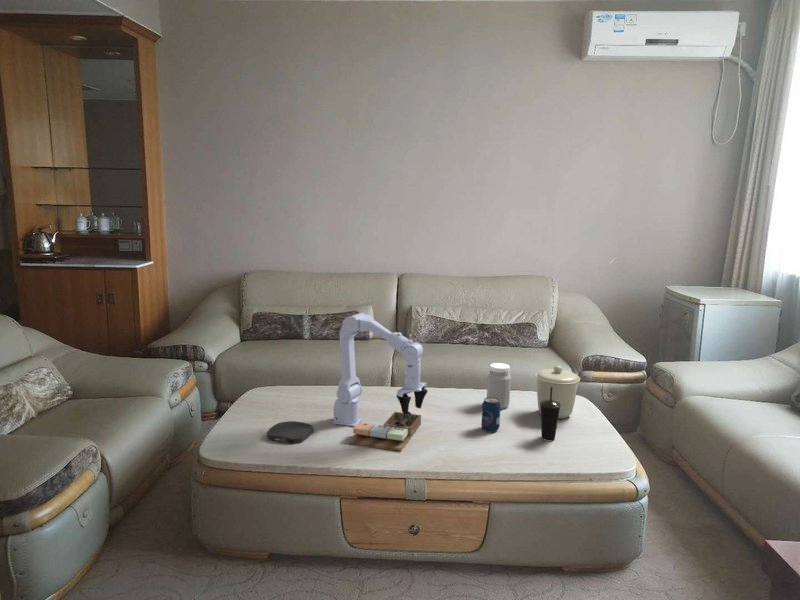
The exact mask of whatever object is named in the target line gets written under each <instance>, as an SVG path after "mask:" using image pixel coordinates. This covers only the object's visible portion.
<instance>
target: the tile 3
mask: <svg viewBox="0 0 800 600" xmlns="http://www.w3.org/2000/svg"><path fill="white" fill-rule="evenodd" d="M407 434H408V429H403V428H396V427H392V428H391V429H390V430H389V431H388V432H387V438H388V439H394V440H401V441H403V440H404V438H405V437H406V436H407Z"/></svg>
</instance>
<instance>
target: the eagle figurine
mask: <svg viewBox="0 0 800 600" xmlns="http://www.w3.org/2000/svg"><path fill="white" fill-rule="evenodd" d="M411 414H412V413H411V412H410V411H408V414H405V413H404V414H403V415H401V418H400V421H398V420H395V421H394V422H392V425H395V426H402V427H408V426H409V425H410V424H409V423H408V424H407V423H405V422H406V421H408V420H410V419H411Z"/></svg>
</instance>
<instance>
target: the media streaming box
mask: <svg viewBox="0 0 800 600" xmlns="http://www.w3.org/2000/svg"><path fill="white" fill-rule="evenodd" d="M313 433H314V426H313V425H312V424H311V423H310V424H309V423H307V422H303V421H296V420H295V421H294V420H293V421H291V420H290V421H289V420H287V421H283V422H278V423H276V424H274V425H272V426H271V427H270V428H269V429H267V432H266V435H267V436H266V438H268V439H269V440H268V439H267V440H268V441H270V440H272V441H271V442H275V441H277V442H276V443H283V444H284V443H285V444H291V445H292V444H293V445H296V444H301V443H304V442H305V441H306V440H307V439H309V437H311V435H312V434H313Z"/></svg>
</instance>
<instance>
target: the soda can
mask: <svg viewBox="0 0 800 600" xmlns="http://www.w3.org/2000/svg"><path fill="white" fill-rule="evenodd" d="M500 406H501V405H500V402H499V399H497V398H493V397H488V398H487V397H485V398H484V399H483V402H482V405H481V425H480V426H481V428H482V430H483V431H485V432H488V433H496V432H497V431H498V430H499V428H500V427H501V425H500V424H501V422H500V421H501V409H500Z"/></svg>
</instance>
